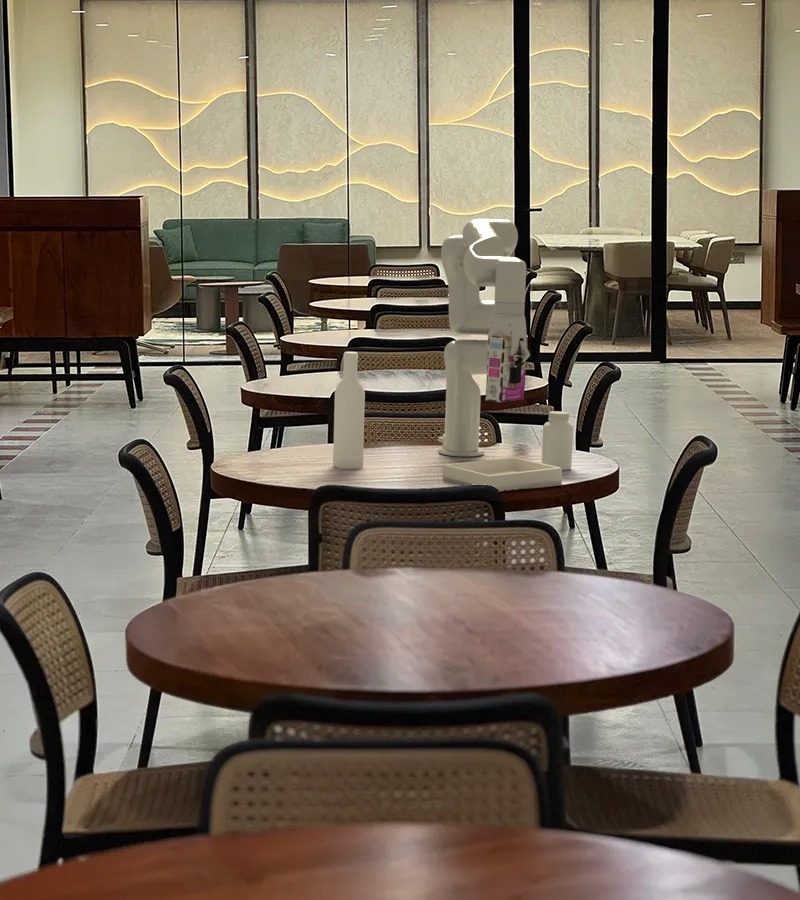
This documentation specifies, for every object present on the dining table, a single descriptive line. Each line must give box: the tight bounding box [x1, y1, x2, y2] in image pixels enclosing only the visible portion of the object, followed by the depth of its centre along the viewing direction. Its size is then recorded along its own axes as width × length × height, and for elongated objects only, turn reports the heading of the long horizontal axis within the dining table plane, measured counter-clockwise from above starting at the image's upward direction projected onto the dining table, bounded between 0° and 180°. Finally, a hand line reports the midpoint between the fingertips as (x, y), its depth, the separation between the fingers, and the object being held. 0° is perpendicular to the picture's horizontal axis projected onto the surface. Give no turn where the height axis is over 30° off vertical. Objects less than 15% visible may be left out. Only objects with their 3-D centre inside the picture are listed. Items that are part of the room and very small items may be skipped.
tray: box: [442, 456, 563, 492], centre depth 396 cm, size 18×24×4 cm
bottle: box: [332, 351, 366, 470], centre depth 408 cm, size 8×8×30 cm
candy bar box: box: [484, 335, 528, 403], centre depth 391 cm, size 11×5×16 cm, turn 144°
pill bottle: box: [541, 410, 574, 471], centre depth 417 cm, size 8×8×15 cm
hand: (506, 381), depth 392 cm, fingers closed on candy bar box, 6 cm apart
